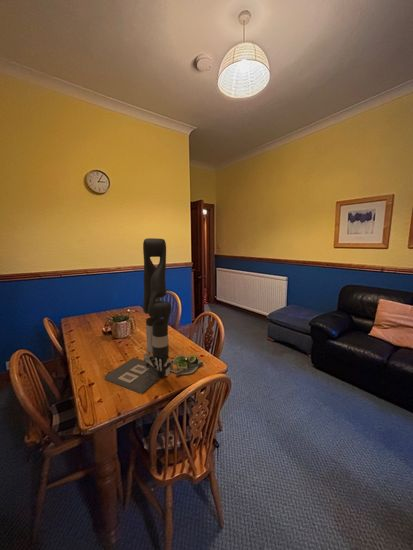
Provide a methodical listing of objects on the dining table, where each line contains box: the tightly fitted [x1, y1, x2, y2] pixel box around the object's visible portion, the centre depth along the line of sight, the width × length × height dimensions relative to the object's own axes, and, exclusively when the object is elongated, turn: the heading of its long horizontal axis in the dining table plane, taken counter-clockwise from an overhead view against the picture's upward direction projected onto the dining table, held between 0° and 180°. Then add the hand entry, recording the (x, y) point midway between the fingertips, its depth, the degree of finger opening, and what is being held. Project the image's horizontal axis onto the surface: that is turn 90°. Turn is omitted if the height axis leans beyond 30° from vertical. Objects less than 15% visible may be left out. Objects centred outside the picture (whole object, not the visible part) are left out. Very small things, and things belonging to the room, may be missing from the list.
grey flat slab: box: [104, 357, 161, 395], centre depth 118 cm, size 20×24×4 cm
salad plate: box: [169, 354, 204, 377], centre depth 125 cm, size 19×18×5 cm
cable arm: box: [143, 352, 171, 377], centre depth 118 cm, size 21×4×3 cm, turn 44°
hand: (161, 377), depth 110 cm, fingers closed
